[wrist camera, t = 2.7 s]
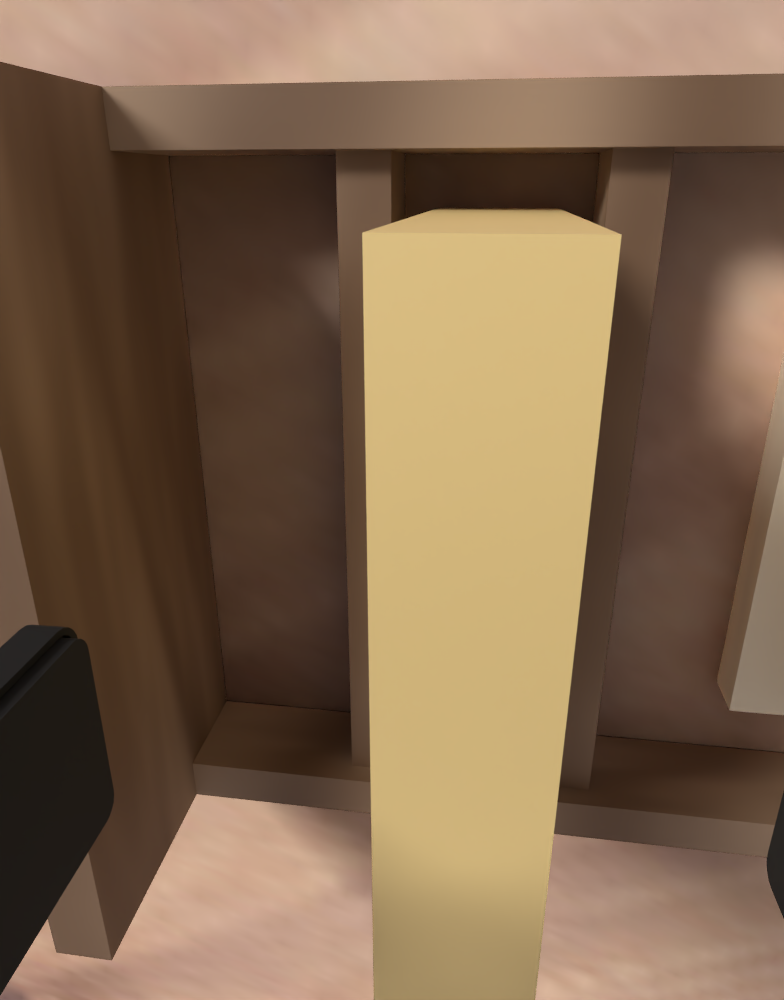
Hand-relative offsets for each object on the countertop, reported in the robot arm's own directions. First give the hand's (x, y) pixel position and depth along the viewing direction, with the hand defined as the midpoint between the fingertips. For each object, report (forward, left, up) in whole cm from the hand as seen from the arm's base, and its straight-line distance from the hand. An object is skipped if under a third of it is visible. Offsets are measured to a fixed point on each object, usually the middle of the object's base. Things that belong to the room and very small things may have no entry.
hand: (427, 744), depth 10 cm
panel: (-1, 0, -9) cm, 9 cm away
